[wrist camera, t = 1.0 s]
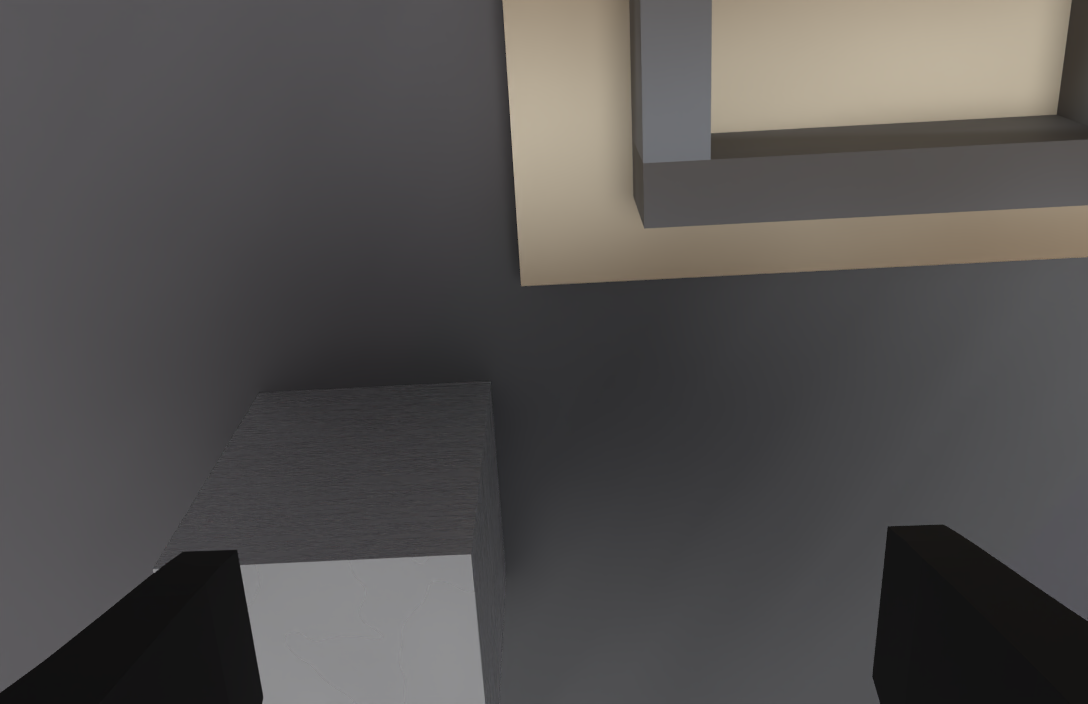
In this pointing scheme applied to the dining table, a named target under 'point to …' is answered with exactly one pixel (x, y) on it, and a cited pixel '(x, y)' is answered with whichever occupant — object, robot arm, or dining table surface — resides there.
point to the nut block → (364, 542)
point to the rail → (794, 135)
